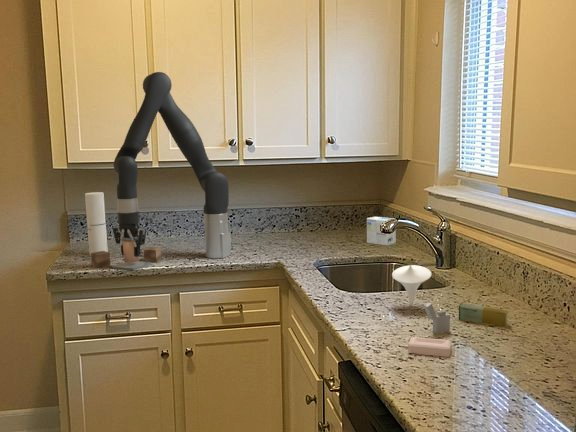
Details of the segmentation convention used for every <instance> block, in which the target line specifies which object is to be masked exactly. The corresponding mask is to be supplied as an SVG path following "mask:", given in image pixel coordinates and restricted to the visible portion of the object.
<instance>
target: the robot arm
mask: <svg viewBox="0 0 576 432" xmlns="http://www.w3.org/2000/svg"><path fill="white" fill-rule="evenodd" d="M172 87H173V85H172V79H171V78H170V77H169V76H168V75H167V74H166V73H165V72H162V71H156V72H155V71H154V72H153V73H152V72H151V73H150V74H148V75H147V76H146V77H144V80H143V82H142V89H143V92H144V93H145V94H144V98H143V99H142V100H143V101H142V103H141V105H140V108H139V110H138V112H137V113H136V115H135V117H134V119H133V121H132V122H131V124H130V127H129V129H128V131H127V133H126V135H125V138H124V142H123V144H122V145H121V147H120V149H119V151H117V153H116V156H115V159H114V160H113V169H114V171H115V172H116V173H117V174H118V183H117V185H116V195H117V196H116V199H117V201H116V202H117V204H116V205H117V207H116V208H117V223H118V224H119V226H117V227H113V228H112V232H113V233H112V234H113V236H114V240H115V244H116V245H119V246H120V251H121V252H120V253H121V255H122V257H124V253H123V241H122V238H124V237H127V238H132V241H133V244H134V246H135V247H134V256H135V257H138V258H139V257H140V256H141V246H143V245H145V243H146V236H147V229H146V228H141V227H140V225H139V223H140V212H139V200H138V190H137V189H138V187H137V183H138V174H139V173H138V172H139V171H138V163H137V161H136V159H137V156H138V155H139V153H141V152H142V150H143V149H144V147H145V144H146V142H147V139H148V137H149V135H150V132H151V128H152V126H153V125H154V121H155V119H156V116H157V115H158V114H159V115H160V116H161V119H162V120H163V122H164V124H165V127H166V128H167V130H168V132H169V134H170V135H171V137H172V139H173V141H174V142H175V144H176V145H177V147H178V149H179V150H180V152H181V154H182V155H183V157H184V158H185V159H186V161H187V163H188V164H189V165H190V166H191V168H192V170H193V172H194V174H195V177H196V178H197V181H198V183H199V185H200V187H201V188H202V190H203V192H204V195H205V199H204V206H203V220H204V221H203V225H204V227H203V228H204V230H203V231H204V247H205V248H204V249H205V251H204V252H205V257H206V258H208V259H209V258H210V259H224V258H226V257H229V256H232V240H231V231H229V221H228V220H229V219H228V218H229V217H228V216H229V215H228V209H229V200H230V199H229V181H228V179H227V176H225V174H224V173H222V172H219V171H218V170H216V168H215V166H214V165H213V164H212V162H211V161H210V158H209V156H208V155H207V152H206V149H205V145H204V142H203V139H202V138H201V135H200V133H199V132H198V130H197V128H196V126H195V125H194V124H193V122H192V120H190V118H189V117H188V116H187V115H186V113H184V112H183V110H182V109H181V108H180V107H179V106H178V104H177V103H176V101H175V99H174V98H173V95H172V93H171V90H172ZM134 237H137V238H134ZM136 240H137V242H136Z"/></svg>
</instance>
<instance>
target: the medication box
mask: <svg viewBox="0 0 576 432" xmlns="http://www.w3.org/2000/svg"><path fill="white" fill-rule="evenodd" d="M508 313H509V311H508V309H503V308H497V307H489V306H482V305H475V304H474V305H473V304H467V303H460V304H459V305H458V320H460V321H467V322H468V321H469V322H473V323H480V324H486V325H492V326H499V327H506V326H507V325H508Z"/></svg>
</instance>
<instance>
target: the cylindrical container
mask: <svg viewBox="0 0 576 432" xmlns="http://www.w3.org/2000/svg"><path fill="white" fill-rule="evenodd" d="M104 196H105V195H104V192H103V191H102V192H100V191H97V192H95V191H94V192H86V193H84V198H85V199H84V200H85V211H86V212H85V214H86V224H87V225H86V227H87V239H88V250H89V251H88V253H89V256H90V257H91V253H94V252H99V251H106V252H109V250H108V249H109V248H108V236H107V223H106V209H105V208H106V207H105V197H104Z"/></svg>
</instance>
